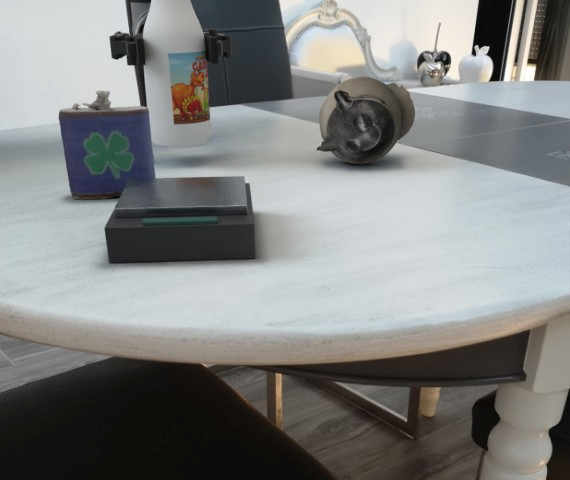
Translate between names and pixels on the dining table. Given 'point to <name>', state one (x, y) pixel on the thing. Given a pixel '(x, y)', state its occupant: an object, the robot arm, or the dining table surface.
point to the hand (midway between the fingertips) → (178, 51)
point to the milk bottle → (176, 75)
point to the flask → (105, 147)
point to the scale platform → (182, 197)
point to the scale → (181, 237)
